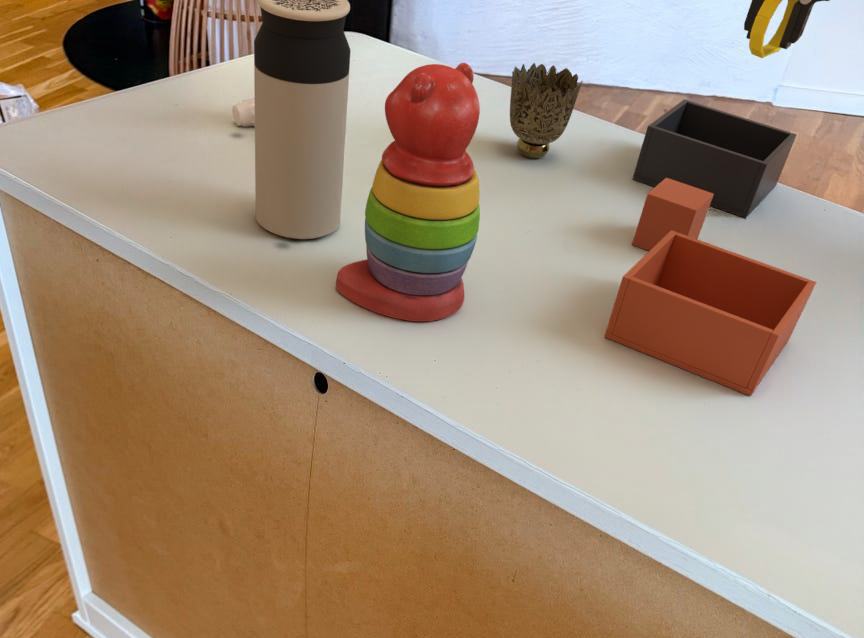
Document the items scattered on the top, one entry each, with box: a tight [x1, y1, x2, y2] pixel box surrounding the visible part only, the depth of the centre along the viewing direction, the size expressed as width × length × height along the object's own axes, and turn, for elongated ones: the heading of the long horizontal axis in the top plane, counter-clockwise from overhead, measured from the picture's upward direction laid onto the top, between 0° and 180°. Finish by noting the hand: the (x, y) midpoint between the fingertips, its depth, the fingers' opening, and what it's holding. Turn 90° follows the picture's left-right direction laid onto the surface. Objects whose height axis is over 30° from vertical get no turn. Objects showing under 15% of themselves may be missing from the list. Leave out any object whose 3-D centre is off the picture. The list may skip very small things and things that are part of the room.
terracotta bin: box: [604, 230, 817, 397], centre depth 78 cm, size 13×11×6 cm
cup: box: [509, 62, 584, 159], centre depth 100 cm, size 8×7×8 cm
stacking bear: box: [335, 62, 481, 322], centre depth 74 cm, size 11×10×18 cm
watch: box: [748, 0, 798, 59], centre depth 88 cm, size 6×3×6 cm, turn 133°
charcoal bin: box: [632, 99, 797, 219], centre depth 101 cm, size 13×11×6 cm
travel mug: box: [253, 0, 351, 240], centre depth 80 cm, size 8×8×18 cm
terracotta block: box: [631, 178, 714, 252], centre depth 90 cm, size 5×5×5 cm
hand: (768, 41), depth 89 cm, fingers closed on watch, 2 cm apart
